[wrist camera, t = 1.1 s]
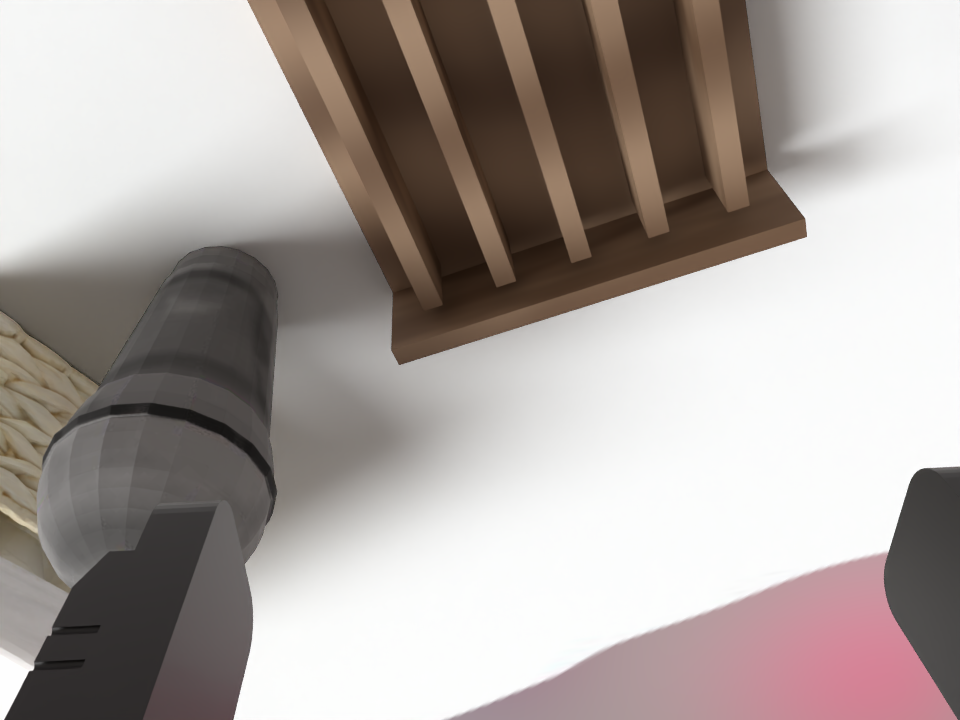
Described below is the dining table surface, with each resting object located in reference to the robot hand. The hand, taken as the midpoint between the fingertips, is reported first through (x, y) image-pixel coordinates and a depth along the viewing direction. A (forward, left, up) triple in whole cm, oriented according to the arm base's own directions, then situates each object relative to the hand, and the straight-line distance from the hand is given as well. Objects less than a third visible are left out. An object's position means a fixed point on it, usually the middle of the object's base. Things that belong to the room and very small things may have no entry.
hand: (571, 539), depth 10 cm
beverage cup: (+8, -14, -24) cm, 29 cm away
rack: (+3, +1, -24) cm, 24 cm away
